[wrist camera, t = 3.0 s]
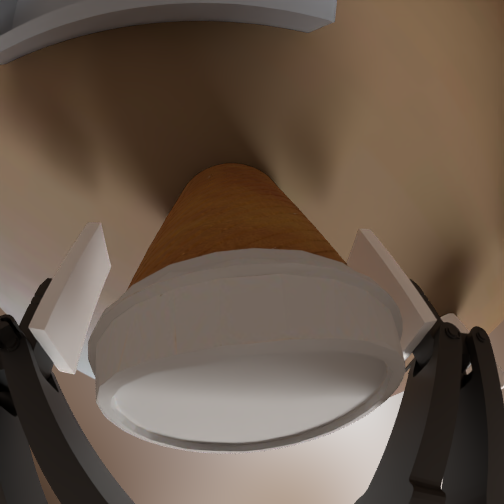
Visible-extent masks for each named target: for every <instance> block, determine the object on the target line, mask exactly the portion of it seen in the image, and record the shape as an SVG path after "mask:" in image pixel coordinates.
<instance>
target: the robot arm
mask: <svg viewBox="0 0 504 504" xmlns="http://www.w3.org/2000/svg"><path fill="white" fill-rule="evenodd" d="M347 265H348V266H349V267H350V268H352V269H353V270H355V271H356V272H358V273H361V274H363V275H366V276H368V277H370V278H371V279H373V280H374V281H375V282H376V283H377V284H379V285H380V286H381V287H382V288H383V289H384V290H386V291H387V292H388V293H389V294H390V296H391V297H392V298H393V300H394V301H395V303H396V304H397V306H398V307H399V309H400V313H401V317H402V321H403V332H402V336H401V340H400V344H401V348H402V352H403V356H404V361H405V360H406V359H407V358H408V357H409V356H410V355H411V353H412V352H413V354H414V356H415V358H414V359H413V360H412V361H411V362H410V363H409V365H408V366H407V367H406V368H405V372H406V371H407V370H408V369H409V368H410V371H409V373H408V374H409V375H408V379H407V383H406V387H405V391H404V395H403V398H402V402H401V405H400V409H399V412H398V415H397V418H396V421H395V424H394V427H393V430H392V433H391V435H390V438H389V441H388V444H387V446H386V449H385V451H384V454H383V456H382V459H381V461H380V464H379V466H378V468H377V470H376V472H375V475H374V477H373V479H372V481H371V483H370V485H369V488H368V489H367V491H366V492H365V493H364V495H363V496H361V497H360V498H359V499H358V500H357V501H356V502H355V503H354V504H504V403H503V397H502V391H501V385H500V380H499V375H498V370H497V366H496V362H495V358H494V354H493V350H492V346H491V343H490V339H489V337H488V335H487V333H486V331H485V330H483V329H482V328H480V327H477V326H475V327H473V328H472V329H471V331H470V332H469V333H468V334H467V333H460V331H459V329H458V328H457V327H456V326H455V325H453V324H452V323H449V322H443V321H442V319H441V318H440V316H439V315H438V313H437V312H436V310H435V309H434V307H433V306H432V304H431V303H430V301H428V298H427V297H426V296H425V295H424V293H423V291H422V290H421V288H420V287H419V286H418V285H417V284H416V283H415V282H414V281H412V280H411V279H409V278H408V277H407V276H406V274H405V273H404V271H403V270H402V269H401V267H400V266H399V265H398V263H397V262H396V261H395V259H394V258H393V257H392V256H391V254H390V253H389V252H388V250H387V249H386V248H385V247H384V245H383V244H382V243H381V242H380V240H379V239H378V238H377V237H376V236H375V234H374V233H373V232H372V231H371V229H358V232H357V235H356V238H355V241H354V244H353V247H352V250H351V252H350V255H349V258H348V261H347ZM110 268H111V264H110V260H109V256H108V252H107V248H106V243H105V239H104V234H103V229H102V224H101V222H88V223H87V225H86V226H85V227H84V229H83V230H82V232H81V233H80V235H79V236H78V238H77V239H76V241H75V242H74V244H73V246H72V247H71V249H70V250H69V252H68V253H67V255H66V257H65V258H64V260H63V262H62V263H61V265H60V267H59V268H58V270H57V272H56V274H55V275H54V277H53V279H51V278H47V279H46V280H45V281H44V282H43V283H42V284H41V285H40V286H39V288H38V289H37V291H36V293H35V297H33V299H32V301H31V304H29V306H28V308H27V310H26V312H25V314H24V316H23V318H22V321H21V323H20V325H19V326H18V324H17V322H16V321H15V319H14V318H13V317H12V316H11V315H6V314H5V315H2V316H0V504H48V503H47V500H46V498H45V495H44V493H43V490H42V487H41V485H40V481H39V478H38V475H37V472H36V469H35V466H34V462H33V458H32V455H31V451H30V447H31V450H32V452H33V454H34V456H35V458H36V460H37V462H38V464H39V466H40V468H41V470H42V472H43V474H44V476H45V477H46V479H47V481H48V483H49V484H50V486H51V488H52V490H53V491H54V493H55V495H56V496H57V498H58V499H59V501H60V502H61V504H135V503H134V502H133V501H132V500H131V499H130V497H129V496H128V495H127V494H126V493H125V491H124V490H123V489H122V488H121V486H120V485H119V484H118V483H117V481H116V480H115V479H114V478H113V476H112V475H111V473H110V472H109V471H108V469H107V468H106V467H105V465H104V464H103V462H102V461H101V459H100V458H99V456H98V455H97V454H96V452H95V450H94V449H93V447H92V446H91V444H90V443H89V441H88V439H87V438H86V436H85V434H84V433H83V431H82V429H81V428H80V426H79V424H78V422H77V421H76V419H75V417H74V415H73V413H72V411H71V409H70V407H69V405H68V403H67V401H66V399H65V397H64V395H63V393H62V391H61V389H60V386H59V384H58V382H57V380H56V377H55V375H54V373H53V372H52V371H51V370H52V367H53V364H54V365H55V366H56V367H57V368H58V370H59V371H61V372H66V373H71V374H75V372H76V368H77V364H78V361H79V357H80V354H81V350H82V347H83V343H84V340H85V337H86V334H87V330H88V327H89V324H90V321H91V318H92V315H93V313H94V310H95V307H96V304H97V301H98V299H99V296H100V293H101V291H102V288H103V286H104V283H105V280H106V278H107V276H108V273H109V271H110ZM470 366H472V371H471V372H470V373H469V374H467V373H466V370H467V369H468V368H469V367H470ZM29 445H30V447H29ZM442 479H443V484H442V490H441V482H442Z"/></svg>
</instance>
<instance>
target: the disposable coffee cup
mask: <svg viewBox="0 0 504 504" xmlns="http://www.w3.org/2000/svg"><path fill="white" fill-rule="evenodd" d="M402 332H403V321H402V317H401V313H400V309H399V307H398V306H397V304H396V303H395V301H394V300H393V298H392V297H391V296H390V294H389V293H388V292H387V291H386V290H384V289H383V288H382V287H381V286H380V285H379V284H377V283H376V282H375V281H374V280H373V279H371V278H370V277H368V276H366V275H363V274H361V273H358V272H356V271H355V270H353V269H352V268H350V267H349V266H348V265H347V263H346V262H345V261H344V260H343V259H342V258H341V257H340V256H339V254H338V253H337V252H336V251H335V249H334V248H333V247H332V246H331V245H330V243H329V242H328V241H327V240H326V239H325V238H324V237H323V235H322V234H321V233H320V232H319V231H318V230H317V229H316V227H315V226H314V225H313V224H312V223H311V222H310V221H309V220H308V219H307V218H306V217H305V215H304V214H303V213H302V212H301V211H300V210H299V209H298V208H297V206H296V205H295V204H294V203H293V202H292V201H291V200H290V199H289V198H288V197H287V196H286V195H285V194H284V193H283V192H282V191H281V190H280V189H279V188H278V186H277V185H276V184H275V183H274V182H273V181H272V180H271V179H270V178H269V177H268V176H267V175H266V174H264V173H263V172H261V171H260V170H258V169H256V168H253V167H251V166H248V165H244V164H238V163H225V164H220V165H215V166H213V167H210V168H208V169H205V170H203V171H202V172H200V173H199V174H197V175H196V176H195V177H194V178H193V179H192V180H191V181H189V183H188V184H187V185H186V187H185V188H184V190H183V191H182V193H181V195H180V197H179V198H178V200H177V201H176V203H175V205H174V206H173V208H172V210H171V211H170V212H169V214H168V216H167V218H166V219H165V221H164V223H163V225H162V226H161V228H160V230H159V232H158V233H157V235H156V237H155V238H154V240H153V242H152V244H151V245H150V247H149V249H148V250H147V252H146V254H145V256H144V258H143V260H142V262H141V264H140V266H139V268H138V270H137V272H136V273H135V275H134V277H133V279H132V281H131V283H130V285H129V287H128V289H127V291H126V292H125V293H124V294H123V295H122V296H121V297H120V298H119V299H118V300H117V301H116V302H114V303H113V304H112V305H110V306H109V307H108V308H106V309H105V311H104V312H103V314H102V316H101V318H100V319H99V321H98V323H97V325H96V327H95V328H94V330H93V332H92V334H91V336H90V339H89V341H88V360H89V362H90V365H91V368H92V371H93V373H94V375H95V377H96V403H97V404H98V406H99V408H100V409H101V411H102V413H103V414H104V416H105V417H106V418H107V419H108V420H109V421H111V422H112V423H113V424H115V425H116V426H117V427H119V428H120V429H122V430H123V431H125V432H127V433H129V434H131V435H133V436H135V437H138V438H140V439H142V440H145V441H148V442H151V443H154V444H158V445H161V446H166V447H170V448H176V449H181V450H186V451H192V452H203V453H250V452H258V451H266V450H272V449H278V448H283V447H288V446H293V445H296V444H300V443H303V442H307V441H311V440H314V439H316V438H319V437H322V436H325V435H328V434H331V433H333V432H335V431H337V430H340V429H342V428H344V427H346V426H348V425H350V424H352V423H354V422H355V421H357V420H359V419H361V418H363V417H364V416H366V415H368V414H369V413H370V412H372V411H373V410H375V409H376V408H377V407H378V406H380V405H381V404H382V403H383V402H385V401H386V400H387V399H388V398H389V397H390V396H391V395H392V394H393V393H394V391H395V390H396V389H397V388H398V386H399V385H400V383H401V381H402V379H403V376H404V374H405V361H404V356H403V352H402V348H401V344H400V340H401V336H402Z"/></svg>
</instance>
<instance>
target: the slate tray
mask: <svg viewBox="0 0 504 504" xmlns="http://www.w3.org/2000/svg"><path fill="white" fill-rule="evenodd" d="M336 4H337V0H0V65H2V64H7V63H9V62H11V61H13V60H15V59H17V58H20V57H22V56H24V55H27V54H29V53H32V52H34V51H37V50H39V49H42V48H45V47H47V46H50V45H53V44H56V43H59V42H62V41H66V40H69V39H72V38H76V37H80V36H83V35H87V34H91V33H96V32H100V31H105V30H110V29H115V28H121V27H127V26H134V25H142V24H150V23H161V22H177V21H223V22H239V23H250V24H259V25H267V26H274V27H280V28H286V29H292V30H297V31H302V32H306V33H309V32H311V31H314V30H316V29H318V28H321V27H323V26H326V25H328V24H331V23H333V22H335V14H336Z"/></svg>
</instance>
